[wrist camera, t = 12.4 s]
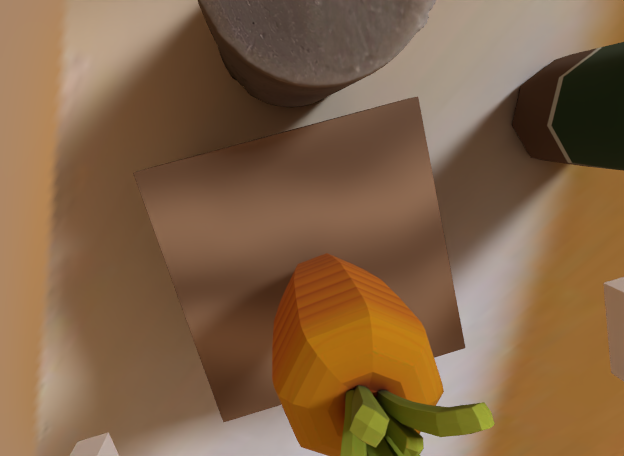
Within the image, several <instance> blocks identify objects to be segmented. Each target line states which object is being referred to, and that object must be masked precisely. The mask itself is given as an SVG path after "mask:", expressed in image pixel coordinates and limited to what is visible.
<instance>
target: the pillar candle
mask: <svg viewBox="0 0 624 456" xmlns="http://www.w3.org/2000/svg"><path fill="white" fill-rule="evenodd" d="M435 1H436V0H198V3H199V5H200V8H201V10H202V12H203V15H204V17H205V19H206V22H207V24H208V26H209V28H210V31H211V33H212V35H213V37H214V39H215V41H216V43H217V45H218V48H219V51H220V55H221V57H222V60H223V62H224V64H225V66H226V68H227V70H228V71H229V73H230V75H231V76H232V78H234V79H235V80H237V81H238V82H239V83H240V84H241V85H242V86H244V87H245V89H246V90H247V92H248V93H249V94H250V95H252V96H254V97H256V98H257V99H259V100H261V101H264V102H266V103H269V104H272V105H276V106H284V107H297V106H304V105H309V104H312V103H315V102H317V101H319V100H321V99H324V98H326V97H327V96H329V95H331V94H333V93H335V92H337V91H339V90H341V89H343V88H345V87H347V86H349V85H351V84H353V83H355V82H357V81H359V80H361V79H363V78H365V77H366V76H369V75H371V74H373V73H374V72H376V71H377V70H379V69H380V68H382V67H383V66H385V65H386V64H387V63H388V62H390V61H391V60H392V59H393V58H394V57H395V56H397V55H398V54H399V53H400V52H401V51H402V50H403V49H404V47H405V46H406V45H407V44H408V43H409V42H410V40H411V39H412V38H413V37H414V35H415V34H416V33H417V32H418V31H420V30H421V28H423V27H424V26H425V24H426V23H427V20H428V18H429V17H428V13H429V11H430V10H431V9H432V7H433V5H434V4H435Z"/></svg>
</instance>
